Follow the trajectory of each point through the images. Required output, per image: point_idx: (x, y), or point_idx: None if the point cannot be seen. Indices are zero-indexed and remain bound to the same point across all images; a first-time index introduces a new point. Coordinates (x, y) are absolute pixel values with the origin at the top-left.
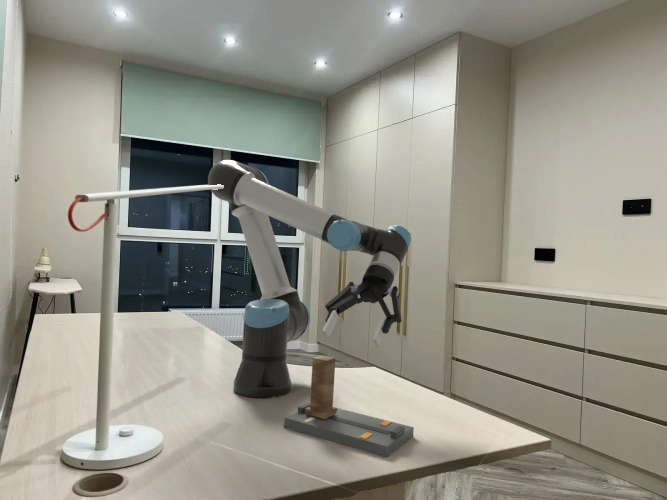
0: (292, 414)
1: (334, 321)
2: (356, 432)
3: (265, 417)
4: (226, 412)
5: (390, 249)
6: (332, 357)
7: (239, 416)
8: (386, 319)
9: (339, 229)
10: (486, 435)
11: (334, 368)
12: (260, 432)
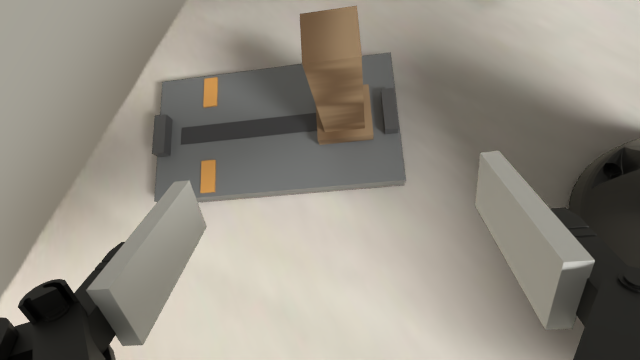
0: (392, 76)
1: (519, 257)
2: (233, 94)
3: (463, 78)
4: (549, 39)
5: None
6: (313, 61)
7: (507, 44)
8: (94, 301)
9: None
10: None
11: (308, 81)
12: (405, 21)
